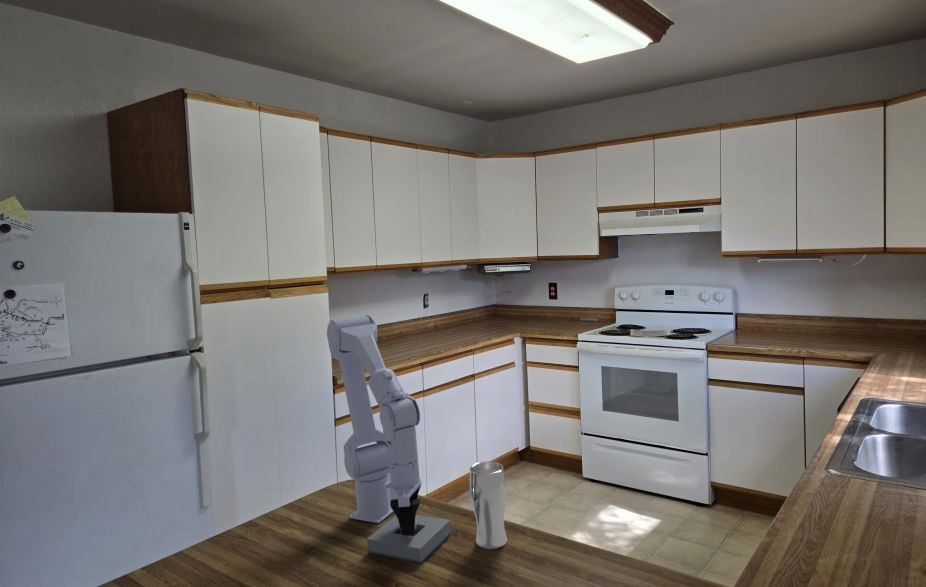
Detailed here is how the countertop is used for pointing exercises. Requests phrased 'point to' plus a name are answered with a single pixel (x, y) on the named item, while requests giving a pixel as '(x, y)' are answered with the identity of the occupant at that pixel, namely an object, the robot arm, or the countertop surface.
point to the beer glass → (488, 503)
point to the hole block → (409, 539)
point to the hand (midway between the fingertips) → (409, 526)
